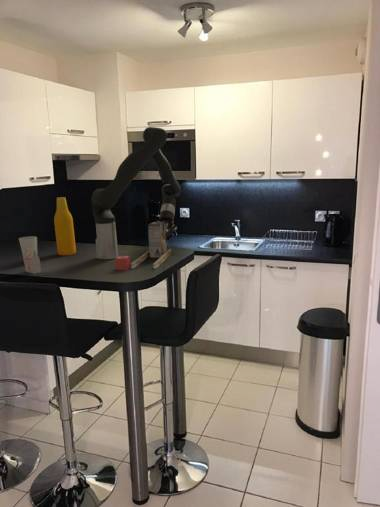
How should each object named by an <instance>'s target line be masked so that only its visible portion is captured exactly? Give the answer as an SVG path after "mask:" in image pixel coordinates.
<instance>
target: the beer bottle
mask: <svg viewBox="0 0 380 507" xmlns="http://www.w3.org/2000/svg"><path fill="white" fill-rule="evenodd" d="M73 219H74V218H73V215H72V214H71V212H70V211H69V208H68V203H67V199H66V197H64V196H63V197H56V210H55V214H54V218H53V221H54V222H53V223H54V230H55V232H54V233H55V239H56V248H57V254H58V255H59V256H73V255H75V254H76V253H77V247H76V246H77V245H76V239H75V229H74V228H75V227H74V220H73Z"/></svg>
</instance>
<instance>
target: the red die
mask: <svg viewBox="0 0 380 507" xmlns="http://www.w3.org/2000/svg"><path fill="white" fill-rule="evenodd" d="M114 259H115V260H114V261H115V262H114V263H115V270H116V271H128V270H129V269H131V263H132V261H131V256H130V255H118V257H117V258H114Z"/></svg>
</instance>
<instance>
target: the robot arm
mask: <svg viewBox="0 0 380 507" xmlns="http://www.w3.org/2000/svg"><path fill="white" fill-rule="evenodd" d="M142 138H143V142H144V145H143V146H141V147H139V148H138V149H136V150H134V151H132V152H131V153H129V154H128V155H127V156H126V157H125V158H124V160H122V162H121V163H120V164H119V166H118V167H117V170H116V174H115V177H114V178H113V180H112V181H111V182H110V183H109V184H108V185H107V186H106V187H105V188H97V189H96V190H95V189H94V191H93V192H92V194H91V207H92V208H91V209H92V215H93V218H94V221H95V228H96V238H95V248H96V258H97V259H98V260H112V259H115V258H117V257H118V256H119V251H118V238H117V229H116V228H117V227H116V216H115V215H114V214H113V213H112V210H111V208H113V207H114V206H115V204H117V202H118V200H119V199H120V197H121V196H122V194H123V192H125V189H127V187H129V185H130V184H131V183H132V181H133V180H135V178H136V177H137V176H138V174H139V173H140V172H141V171H142V170H143V169H144V167H145V165H146V164H147V163H148V162H149V161H150V159H151V158H152V160H153V162H154V163H155V165H156V166H155V167H156V168H157V171H158V175H159V177H160V181H161V182H162V183H165V184H164V185H163V186H162V187H161V194H162V204H161V208H160V213H159V218H158V222H165V229H166V238H167V236H171V235H172V234H173V233H175V231H177V229H178V227H177V225H176V224H174V219H175V212H176V204H177V200H176V198H175V197H178V196H180V195H181V193H182V187H181V185H180V183H179V182H178V181H177V179H176V177H175V175H174V173H173V169H172V166H171V164H170V161H168V159H167V158H166V156H165V155H164V154H163V152H162V151H161V149H162V147H163V146H164V145H165V144H166V143H167V139H168V132H167V131H166V130H165V129H164V128H162V127H156V126H148V127H146V128H145V129H144V130H143V134H142Z"/></svg>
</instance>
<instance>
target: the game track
mask: <svg viewBox="0 0 380 507" xmlns="http://www.w3.org/2000/svg"><path fill="white" fill-rule="evenodd" d="M172 253H173V249H172V248H169V249H167V252H166V253H165V254H164V255H163V256H162V257H158V259H157V260H156V261H155V262H154V263H153V264H152V268H153V269H154V270H155V269H157V268H159V266H160V265H162V264H163V262H165V260H166V259H168V258H169V256H171V255H172ZM147 258H150V250H149V249H148V250H147V251H145V253H143V254H141V256H140V257H138V258H136V259H135V260H134V261H133V262H131V267H130V269H133V270H134V269H135V268H136V267H137V266H139V265H140V264H141V263H142V262H144V261H145V260H146V259H147Z"/></svg>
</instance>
